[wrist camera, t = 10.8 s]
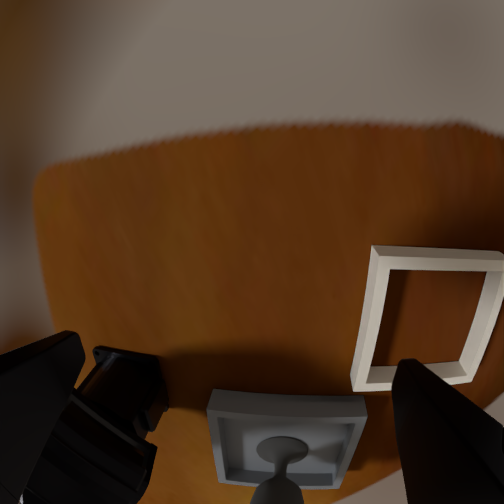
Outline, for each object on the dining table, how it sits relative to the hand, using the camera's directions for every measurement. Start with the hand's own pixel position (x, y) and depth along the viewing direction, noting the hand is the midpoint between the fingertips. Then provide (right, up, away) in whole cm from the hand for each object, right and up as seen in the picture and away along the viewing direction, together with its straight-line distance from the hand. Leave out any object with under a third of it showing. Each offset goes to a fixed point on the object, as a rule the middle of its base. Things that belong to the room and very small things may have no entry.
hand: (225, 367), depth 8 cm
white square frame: (+14, -2, +13) cm, 19 cm away
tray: (+4, -15, +19) cm, 24 cm away
